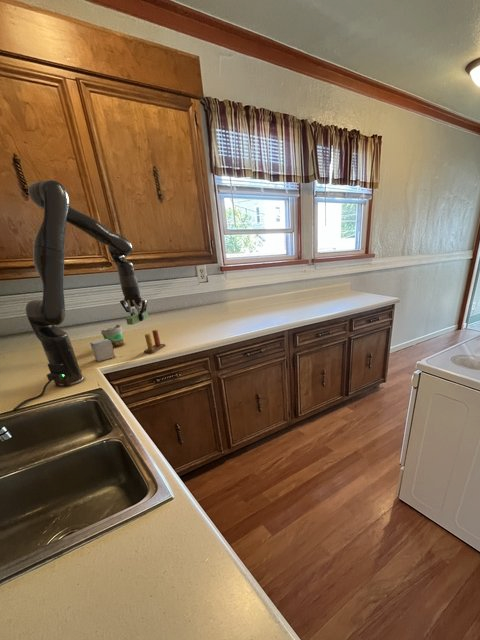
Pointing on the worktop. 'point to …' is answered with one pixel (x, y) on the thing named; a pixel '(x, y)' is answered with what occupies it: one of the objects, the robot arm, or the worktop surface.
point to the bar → (135, 318)
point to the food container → (114, 336)
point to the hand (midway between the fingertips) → (138, 320)
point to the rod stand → (150, 346)
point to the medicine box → (102, 350)
